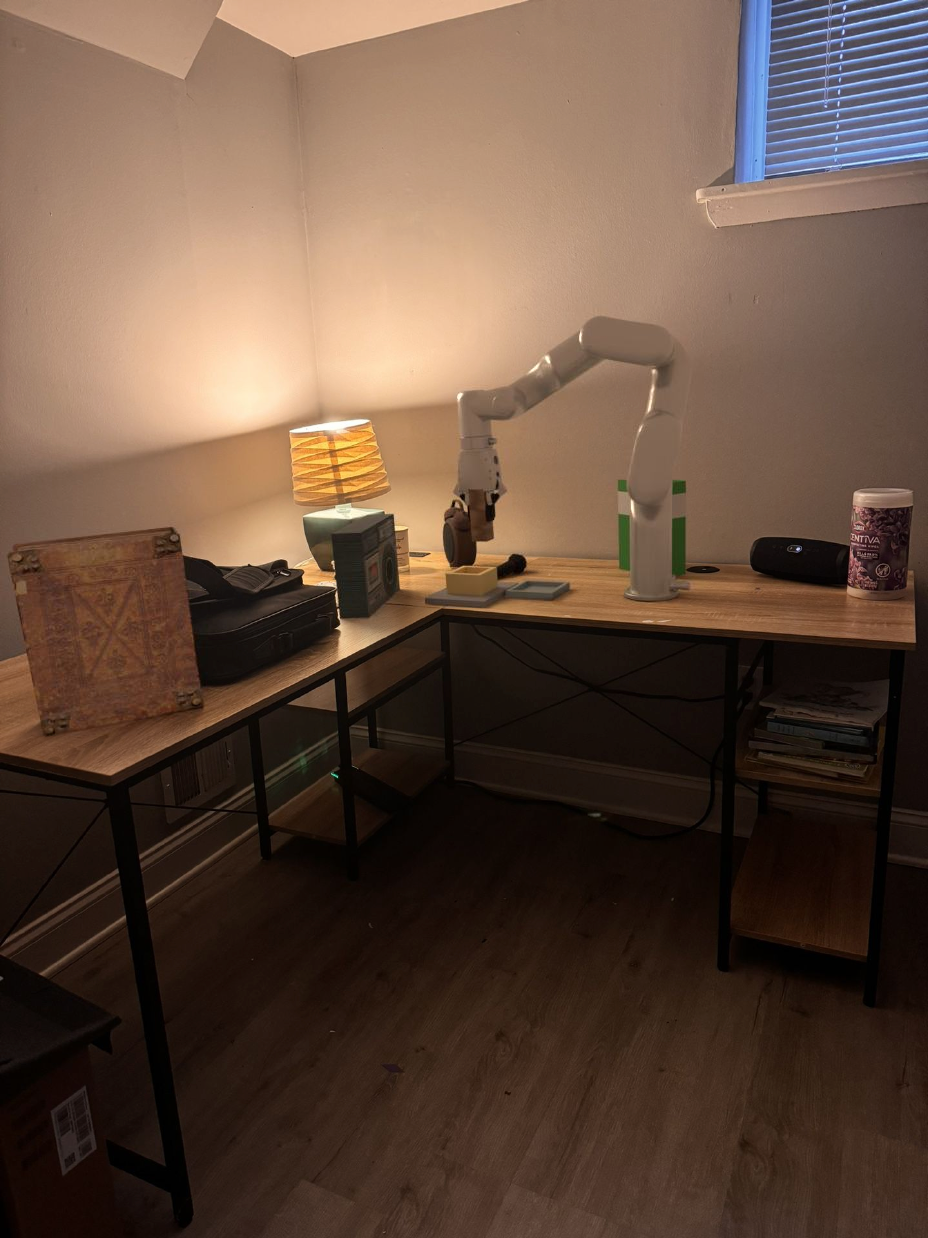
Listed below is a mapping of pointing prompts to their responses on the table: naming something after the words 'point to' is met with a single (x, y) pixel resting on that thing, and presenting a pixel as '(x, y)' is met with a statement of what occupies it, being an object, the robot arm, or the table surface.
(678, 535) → the green white tall box
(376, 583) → the cassette player
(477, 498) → the rod
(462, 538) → the alarm clock
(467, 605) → the yellow socket holder
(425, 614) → the table surface
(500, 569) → the microphone
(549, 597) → the tray
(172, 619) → the book
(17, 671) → the table surface
